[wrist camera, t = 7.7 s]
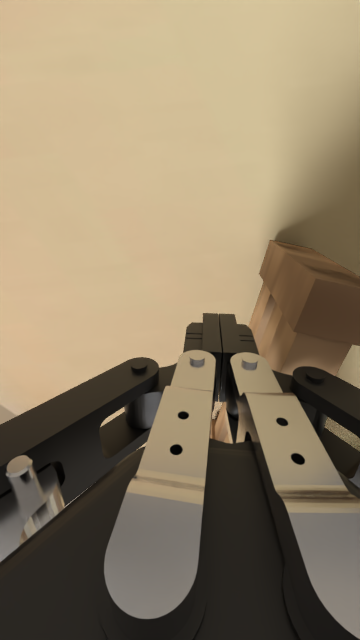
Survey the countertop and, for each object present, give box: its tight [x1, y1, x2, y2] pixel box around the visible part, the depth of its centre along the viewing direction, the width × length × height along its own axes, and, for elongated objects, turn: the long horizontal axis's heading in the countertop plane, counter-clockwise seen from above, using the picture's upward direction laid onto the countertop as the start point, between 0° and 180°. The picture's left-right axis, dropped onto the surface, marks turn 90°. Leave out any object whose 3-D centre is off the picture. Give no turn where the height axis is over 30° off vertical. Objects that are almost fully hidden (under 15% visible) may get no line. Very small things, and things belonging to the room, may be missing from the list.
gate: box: [210, 240, 360, 443], centre depth 16 cm, size 16×2×8 cm, turn 169°
